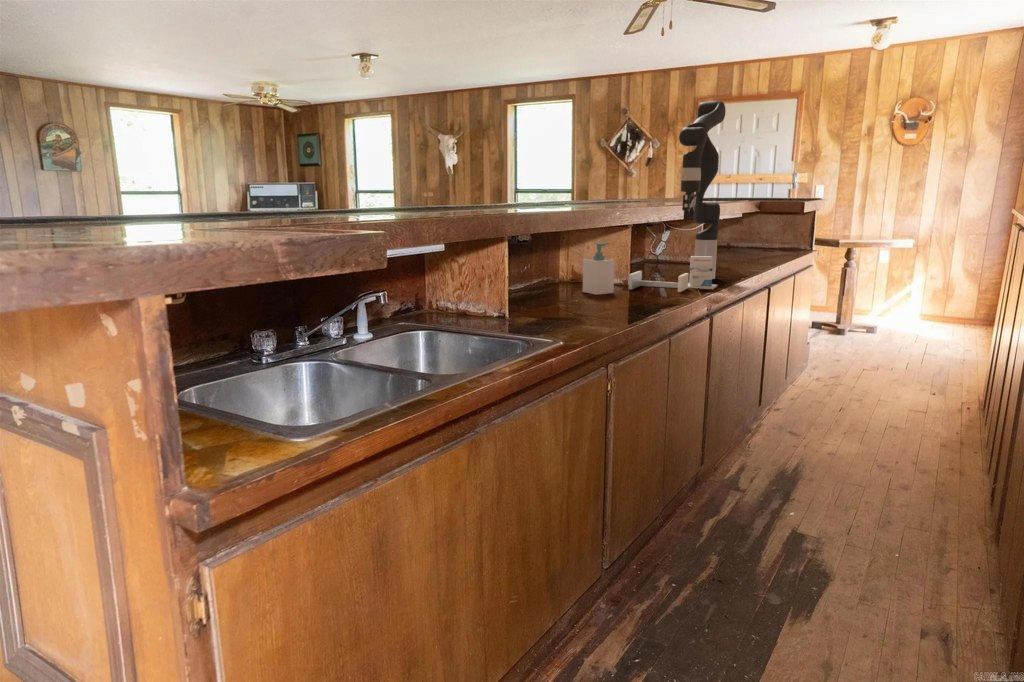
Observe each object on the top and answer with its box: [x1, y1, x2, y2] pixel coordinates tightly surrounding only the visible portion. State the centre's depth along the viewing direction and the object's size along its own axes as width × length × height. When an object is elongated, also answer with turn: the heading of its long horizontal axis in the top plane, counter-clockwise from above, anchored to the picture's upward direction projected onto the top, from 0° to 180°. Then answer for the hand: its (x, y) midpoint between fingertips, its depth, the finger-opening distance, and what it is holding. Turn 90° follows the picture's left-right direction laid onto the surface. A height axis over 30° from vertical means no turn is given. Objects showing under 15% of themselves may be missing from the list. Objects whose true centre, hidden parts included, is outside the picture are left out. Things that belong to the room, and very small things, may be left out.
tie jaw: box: [677, 272, 690, 293], centre depth 268 cm, size 12×1×6 cm, turn 153°
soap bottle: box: [582, 242, 615, 296], centre depth 263 cm, size 9×9×19 cm
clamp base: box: [628, 270, 678, 290], centre depth 274 cm, size 14×19×6 cm
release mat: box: [687, 282, 718, 290], centre depth 279 cm, size 10×12×1 cm
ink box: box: [688, 255, 713, 286], centre depth 278 cm, size 8×5×12 cm, turn 80°
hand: (688, 220), depth 276 cm, fingers open, 8 cm apart
